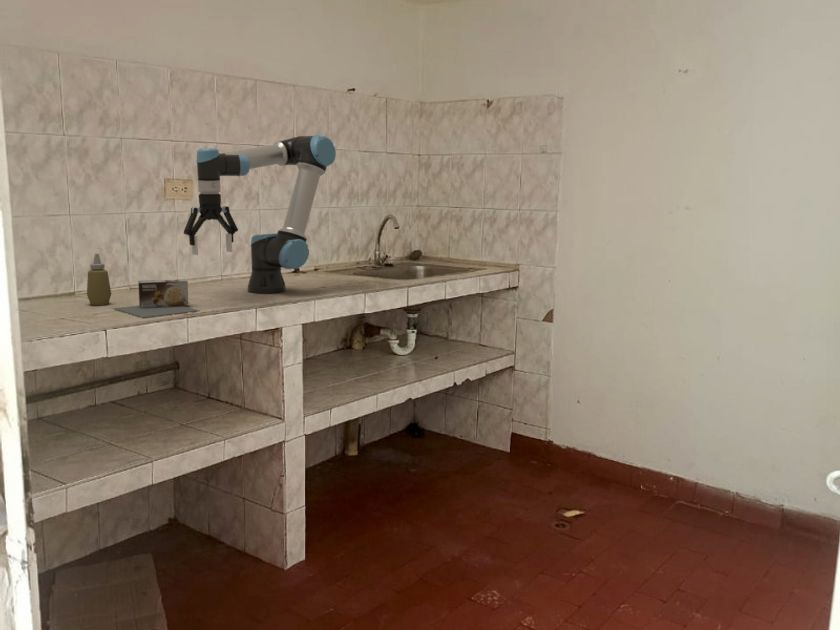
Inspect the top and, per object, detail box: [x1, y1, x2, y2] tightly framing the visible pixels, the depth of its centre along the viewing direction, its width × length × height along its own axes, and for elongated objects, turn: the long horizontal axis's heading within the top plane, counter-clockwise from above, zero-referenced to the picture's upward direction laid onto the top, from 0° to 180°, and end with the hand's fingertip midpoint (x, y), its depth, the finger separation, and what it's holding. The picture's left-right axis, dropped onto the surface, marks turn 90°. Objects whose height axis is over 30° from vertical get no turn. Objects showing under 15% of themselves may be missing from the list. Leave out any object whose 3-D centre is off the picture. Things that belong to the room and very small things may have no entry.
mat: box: [113, 305, 201, 319], centre depth 255 cm, size 20×22×1 cm
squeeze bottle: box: [86, 253, 112, 306], centre depth 263 cm, size 8×8×18 cm
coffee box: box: [137, 278, 189, 308], centre depth 261 cm, size 9×6×16 cm
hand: (212, 253), depth 267 cm, fingers open, 13 cm apart
